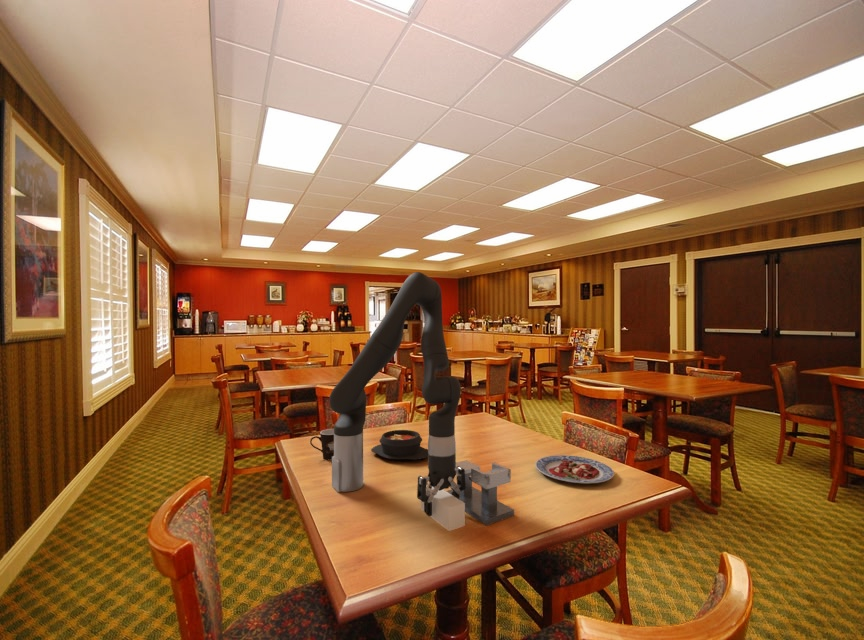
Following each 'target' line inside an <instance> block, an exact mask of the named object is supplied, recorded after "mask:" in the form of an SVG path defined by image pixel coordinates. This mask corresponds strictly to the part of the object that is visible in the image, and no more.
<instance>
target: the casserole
mask: <svg viewBox="0 0 864 640" xmlns="http://www.w3.org/2000/svg"><path fill="white" fill-rule="evenodd" d="M422 441H423V438H422V437H421V435H420V433H419V432H417V431H415V430H411V429H397V430H396V429H394V430H389V431H386V432H384V433H382V435H381V437H380V439H379V443H380V444H377V445H375V446H373V447H372V448H371V449H370V451H371V452H372V453H374V454H377V455H378V456H380V457H382V458H384V459H389V460H393V461H406V460H410V461H411V460H412V461H413V460H414V461H415V460H416V461H418V460H422V459H425V458H428V448H424V447H422V446H421V443H422Z"/></svg>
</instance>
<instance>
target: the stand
mask: <svg viewBox="0 0 864 640" xmlns="http://www.w3.org/2000/svg"><path fill="white" fill-rule="evenodd" d="M457 466H459V467H461V468H463V469H464V470H465V484H466V489H465V490H462V491H461V492H460V494H459V500H461V501H462V502H464V503H465V514H468V515H469V516H471V517H472V518H474V519H475V520H477V521H478V522H480V523H481V524H483V525H484V526H489V525H492V524H494V522H495V523H497V521H498V522H500V521H502V519H503V520H505V518H506V519H509V518H511V517H514V516H515V509H513V508H512V507H510V506H508V505H506V504H504V503H503V502H501V501H499V500H498V487H500V486H502V485H507V484H510V483H512V480H511V479H512V478H511V477H512V476H511V474H512V472H511V471H512V470H511V468H510V467H509V468H508V467H506V466H504V465H502V464H499V463H497V462H492V463H491V470H487V471H482V470H481V466H480V465H478V464H475V463H474V462H472V461H469V460H462V461H456V467H457ZM456 467H455V469H456ZM473 483H474V484H476V485H478V486H479V487H480V488H481V489H480V490H479V489H478V488H476V487H474V486H473ZM445 491H446V492H448V493H450V494H451V495H452V492H453V491H452V489H449V490H445ZM508 517H509V518H508Z"/></svg>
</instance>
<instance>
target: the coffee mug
mask: <svg viewBox="0 0 864 640" xmlns="http://www.w3.org/2000/svg"><path fill="white" fill-rule="evenodd" d="M319 434H320V436H318V435H315V436H312V437H311V438H310V442H309V443H310V445H311V446H312V447H313V448H314V449H315V450H318V451H320V452H321V453H322V457H323V458H322V459H323V460H325V461H332V456H334V428H329V429H323V430H320V433H319ZM314 439H318V440H319V442H320V444H321V448H319V447H317V446H316V445H314V444H313V443H312V441H313V440H314Z"/></svg>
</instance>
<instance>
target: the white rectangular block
mask: <svg viewBox="0 0 864 640" xmlns="http://www.w3.org/2000/svg"><path fill="white" fill-rule="evenodd" d="M426 488H427V486H426ZM433 489H434V487H433V486H432V490H433ZM446 491H447V490H446V489H443V490H440V491H439V490H438V492H437V494H436V495H434V497H433V499H432V501H431V502H432V516H429V517H430V518H431V519H433V520H434V521H435V522H437V523H438V524H439V525H441V526H442V528H444V529H445V530H447V531H448V532H451V531H454V530H456V529H459V528H463V527H465V526H466V512H465V503H464V502H462V501H461V500H459V499H458V498H456V497H454V496H453V495H451V494H450V493H448V492H446ZM420 510H421V511H422V512H424V502H422V501H421V500H420Z"/></svg>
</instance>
